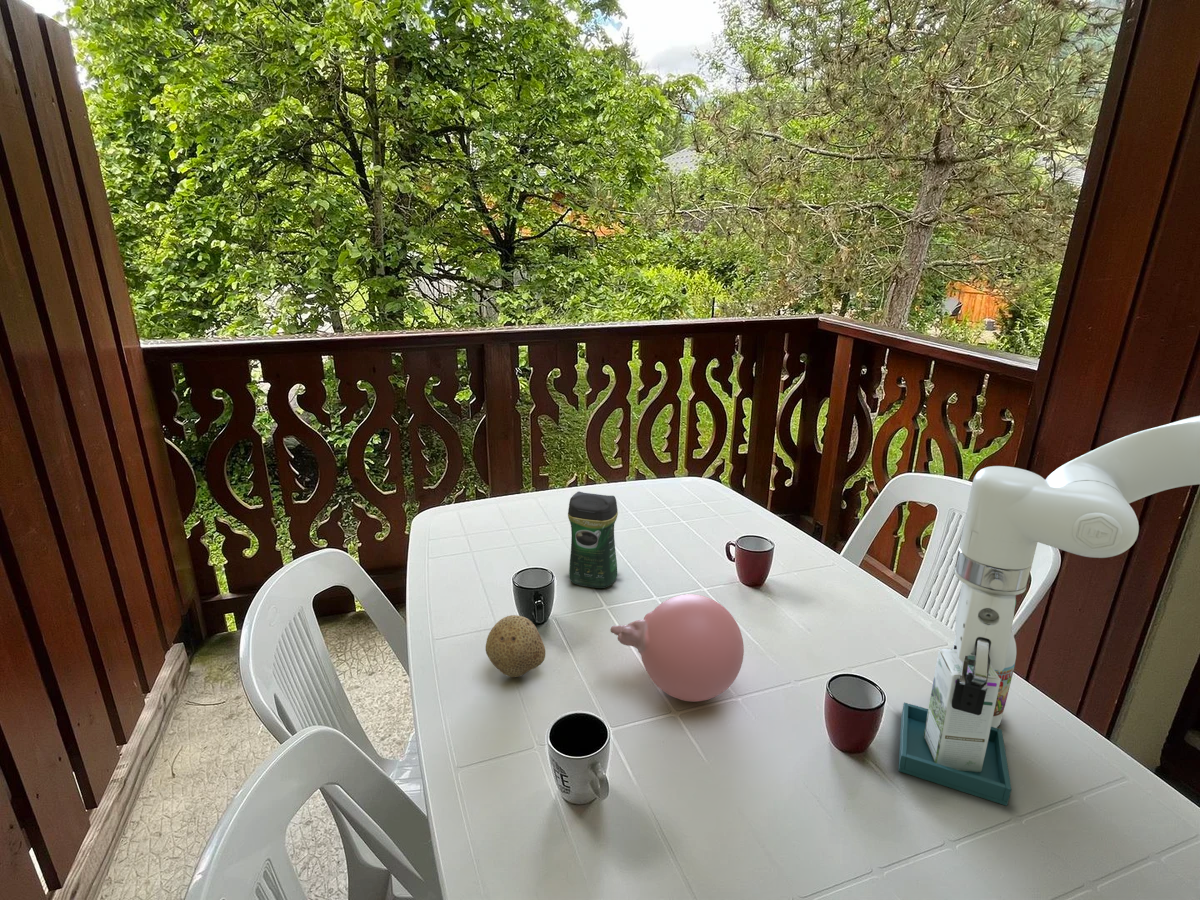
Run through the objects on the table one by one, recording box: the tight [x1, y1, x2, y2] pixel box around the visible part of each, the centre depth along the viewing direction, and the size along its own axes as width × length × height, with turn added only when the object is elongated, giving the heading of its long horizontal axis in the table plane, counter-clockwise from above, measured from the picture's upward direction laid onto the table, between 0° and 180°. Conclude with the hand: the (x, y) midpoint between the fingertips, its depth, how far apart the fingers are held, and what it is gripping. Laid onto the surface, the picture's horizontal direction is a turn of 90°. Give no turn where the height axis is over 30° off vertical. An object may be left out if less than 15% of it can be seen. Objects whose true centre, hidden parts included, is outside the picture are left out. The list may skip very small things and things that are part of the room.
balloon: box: [610, 593, 745, 703], centre depth 96 cm, size 15×20×15 cm
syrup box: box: [924, 648, 1001, 772], centre depth 83 cm, size 6×6×14 cm
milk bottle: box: [951, 599, 1017, 728], centre depth 90 cm, size 8×8×20 cm
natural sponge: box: [485, 614, 546, 678], centre depth 100 cm, size 9×9×10 cm
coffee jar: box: [567, 491, 619, 589], centre depth 127 cm, size 10×8×19 cm
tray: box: [898, 702, 1012, 807], centre depth 85 cm, size 12×11×3 cm
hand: (964, 691), depth 82 cm, fingers closed on syrup box, 6 cm apart
